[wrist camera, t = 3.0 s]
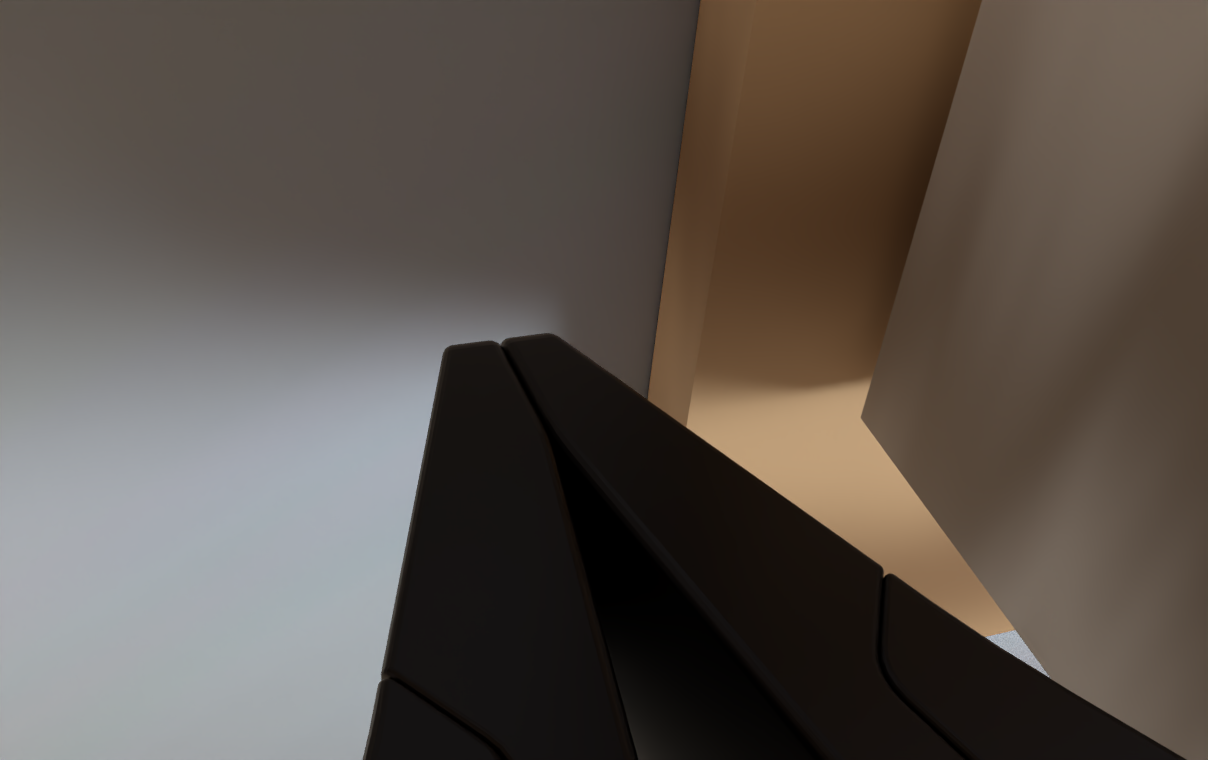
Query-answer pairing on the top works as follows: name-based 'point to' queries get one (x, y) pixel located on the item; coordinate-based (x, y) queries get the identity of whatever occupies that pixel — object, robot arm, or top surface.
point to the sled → (1070, 347)
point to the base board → (810, 257)
